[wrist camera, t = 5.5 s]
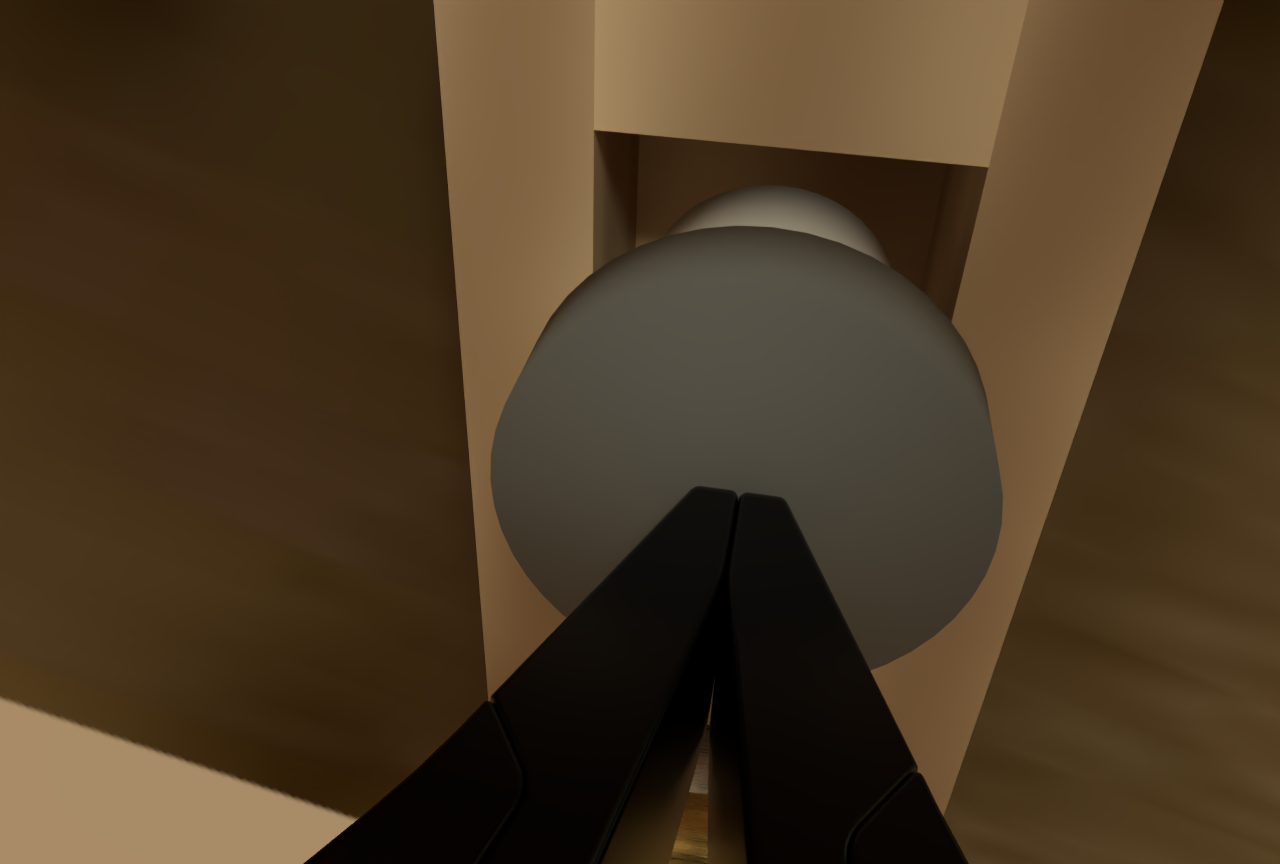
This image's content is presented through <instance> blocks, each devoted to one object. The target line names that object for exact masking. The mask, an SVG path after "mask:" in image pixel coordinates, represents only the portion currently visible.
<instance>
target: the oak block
mask: <svg viewBox="0 0 1280 864" xmlns="http://www.w3.org/2000/svg"><path fill="white" fill-rule="evenodd" d="M1223 2H1224V0H434V11H435V24H436V37H437V50H438V63H439V75H440V88H441V101H442V114H443V127H444V139H445V152H446V165H447V178H448V190H449V203H450V216H451V229H452V242H453V254H454V267H455V280H456V293H457V306H458V318H459V331H460V344H461V357H462V369H463V382H464V395H465V408H466V421H467V433H468V446H469V459H470V472H471V485H472V497H473V510H474V523H475V536H476V548H477V561H478V574H479V587H480V600H481V612H482V625H483V638H484V651H485V664H486V676H487V689H488V701H491V695H492V694H493V693H494V692H495V691H496V690H497V689H498V688H499V687H500V686H501V685H502V684H503V683H504V682H505V681H506V680H507V679H508V678H509V677H510V676H511V675H512V674H513V672H514V671H515V670H516V669H517V668H518V667H519V666H520V665H521V664H522V663H523V662H524V661H525V660H526V659H527V658H528V657H529V656H530V655H531V654H532V653H533V652H534V651H535V650H536V649H537V648H538V647H539V646H540V645H541V644H542V643H543V642H544V640H545V639H546V638H547V637H548V636H549V635H550V634H551V633H552V632H553V631H554V630H555V629H556V628H557V627H558V626H559V625H560V624H561V623H562V622H563V621H564V620H565V619H566V617H565V616H563V615H562V614H561V613H560V612H559V611H558V610H557V609H556V608H555V607H554V606H553V605H552V604H551V603H550V602H549V601H548V600H547V599H546V598H545V597H544V596H543V595H542V594H541V593H540V592H539V590H538V589H537V588H536V587H535V585H534V584H533V583H532V582H531V581H530V579H529V578H528V577H527V576H526V574H525V573H524V571H523V569H522V568H521V566H520V565H519V563H518V562H517V560H516V558H515V557H514V555H513V554H512V552H511V550H510V547H509V545H508V543H507V541H506V539H505V537H504V534H503V532H502V530H501V527H500V524H499V520H498V517H497V514H496V510H495V507H494V502H493V495H492V488H491V481H490V474H491V451H492V446H493V440H494V435H495V430H496V427H497V424H498V421H499V419H500V416H501V413H502V410H503V408H504V405H505V403H506V401H507V399H508V397H509V395H510V393H511V391H512V389H513V387H514V385H515V383H516V381H517V379H518V377H519V375H520V373H521V371H522V369H523V367H524V366H525V364H526V362H527V360H528V358H529V356H530V354H531V352H532V350H533V348H534V346H535V344H536V342H537V340H538V338H539V336H540V335H541V333H542V331H543V329H544V328H545V326H546V324H547V322H548V320H549V319H550V317H551V316H552V314H553V313H554V312H555V311H556V309H557V308H558V307H559V306H560V304H561V303H562V302H563V301H564V299H565V298H566V297H567V296H568V295H569V294H570V293H571V292H572V291H573V290H574V289H575V288H576V287H577V286H578V285H579V284H580V283H582V282H583V281H584V280H585V279H586V278H587V277H588V276H589V275H591V274H592V273H594V272H595V271H597V270H598V269H599V268H601V267H602V266H604V265H605V264H607V263H608V262H610V261H611V260H612V259H614V258H616V257H618V256H620V255H622V254H624V253H626V252H628V251H630V250H632V249H634V248H636V247H638V246H640V245H643V244H646V243H649V242H652V241H655V240H658V239H661V238H663V237H664V235H665V234H666V233H667V231H668V230H669V229H670V228H671V227H672V225H673V224H674V223H675V222H676V221H677V220H679V219H680V218H681V217H682V216H683V215H684V214H685V213H686V212H688V211H689V210H691V209H692V208H694V207H695V206H697V205H698V204H700V203H702V202H704V201H705V200H707V199H709V198H711V197H713V196H716V195H719V194H721V193H724V192H727V191H730V190H734V189H739V188H743V187H749V186H760V185H777V186H788V187H794V188H800V189H804V190H807V191H810V192H814V193H817V194H820V195H822V196H824V197H826V198H829V199H831V200H833V201H835V202H837V203H838V204H840V205H842V206H843V207H845V208H847V209H848V210H849V211H851V212H852V213H853V214H854V215H856V216H857V217H858V218H859V219H861V220H862V221H863V222H864V223H865V224H866V225H867V226H868V228H869V229H870V230H871V231H872V232H873V233H874V234H875V236H876V237H877V239H878V240H879V241H880V243H881V244H882V246H883V247H884V249H885V251H886V253H887V255H888V257H889V259H890V262H891V265H892V268H893V270H895V271H897V272H898V273H900V274H901V275H903V276H904V277H905V278H907V279H908V280H909V281H910V282H912V283H913V284H914V285H915V286H917V287H918V288H919V289H920V290H922V291H923V292H924V293H925V294H926V295H927V296H928V297H929V298H930V299H931V300H932V301H933V302H934V303H935V304H936V305H937V306H938V307H939V308H940V309H941V310H942V311H943V312H944V314H945V315H946V316H947V317H948V318H949V319H950V321H951V322H952V324H953V325H954V327H955V328H956V329H957V331H958V332H959V334H960V335H961V337H962V338H963V339H964V341H965V343H966V345H967V347H968V349H969V351H970V353H971V355H972V357H973V359H974V361H975V363H976V365H977V367H978V370H979V373H980V376H981V379H982V382H983V386H984V389H985V392H986V396H987V402H988V408H989V414H990V419H991V425H992V431H993V436H994V442H995V448H996V453H997V459H998V465H999V471H1000V478H1001V486H1002V493H1003V509H1002V526H1001V530H1000V535H999V539H998V544H997V548H996V552H995V554H994V557H993V559H992V562H991V564H990V566H989V569H988V571H987V574H986V576H985V577H984V579H983V581H982V582H981V584H980V586H979V587H978V589H977V590H976V592H975V594H974V595H973V597H972V598H971V600H970V601H969V602H968V603H967V604H966V605H965V607H964V608H963V609H962V610H961V611H960V612H959V614H958V615H957V616H956V617H955V618H954V619H953V620H952V621H951V622H950V623H949V624H948V625H946V626H945V627H944V628H943V629H942V630H941V631H940V632H939V633H937V634H936V635H935V636H934V637H932V638H931V639H929V640H928V641H927V642H925V643H924V644H922V645H921V646H919V647H918V648H916V649H915V650H913V651H912V652H910V653H908V654H906V655H904V656H902V657H900V658H898V659H896V660H894V661H892V662H890V663H888V664H887V665H884V666H881V667H879V668H876V669H873V670H871V673H872V675H873V677H874V679H875V681H876V683H877V685H878V687H879V689H880V691H881V693H882V695H883V697H884V699H885V701H886V703H887V705H888V707H889V709H890V711H891V713H892V715H893V717H894V719H895V721H896V723H897V725H898V727H899V729H900V731H901V733H902V735H903V737H904V739H905V741H906V743H907V745H908V747H909V749H910V751H911V753H912V755H913V757H914V759H915V761H916V763H917V766H918V771H917V772H919V773H921V774H922V775H923V777H924V779H925V781H926V783H927V785H928V787H929V789H930V791H931V793H932V795H933V797H934V799H935V801H936V803H937V805H938V807H939V809H940V811H941V813H942V815H943V816H944V813H945V811H946V808H947V805H948V802H949V799H950V796H951V793H952V790H953V787H954V784H955V782H956V779H957V776H958V773H959V770H960V767H961V764H962V761H963V758H964V755H965V752H966V750H967V747H968V744H969V741H970V738H971V735H972V732H973V729H974V726H975V723H976V720H977V718H978V715H979V712H980V709H981V706H982V703H983V700H984V697H985V694H986V691H987V688H988V686H989V683H990V680H991V677H992V674H993V671H994V668H995V665H996V662H997V659H998V656H999V654H1000V651H1001V648H1002V645H1003V642H1004V639H1005V636H1006V633H1007V630H1008V627H1009V624H1010V622H1011V619H1012V616H1013V613H1014V610H1015V607H1016V604H1017V601H1018V598H1019V595H1020V593H1021V590H1022V587H1023V584H1024V581H1025V578H1026V575H1027V572H1028V569H1029V566H1030V563H1031V561H1032V558H1033V555H1034V552H1035V549H1036V546H1037V543H1038V540H1039V537H1040V534H1041V531H1042V529H1043V526H1044V523H1045V520H1046V517H1047V514H1048V511H1049V508H1050V505H1051V502H1052V499H1053V497H1054V494H1055V491H1056V488H1057V485H1058V482H1059V479H1060V476H1061V473H1062V470H1063V467H1064V465H1065V462H1066V459H1067V456H1068V453H1069V450H1070V447H1071V444H1072V441H1073V438H1074V435H1075V433H1076V430H1077V427H1078V424H1079V421H1080V418H1081V415H1082V412H1083V409H1084V406H1085V404H1086V401H1087V398H1088V395H1089V392H1090V389H1091V386H1092V383H1093V380H1094V377H1095V374H1096V372H1097V369H1098V366H1099V363H1100V360H1101V357H1102V354H1103V351H1104V348H1105V345H1106V342H1107V340H1108V337H1109V334H1110V331H1111V328H1112V325H1113V322H1114V319H1115V316H1116V313H1117V310H1118V308H1119V305H1120V302H1121V299H1122V296H1123V293H1124V290H1125V287H1126V284H1127V281H1128V278H1129V276H1130V273H1131V270H1132V267H1133V264H1134V261H1135V258H1136V255H1137V252H1138V249H1139V247H1140V244H1141V241H1142V238H1143V235H1144V232H1145V229H1146V226H1147V223H1148V220H1149V217H1150V215H1151V212H1152V209H1153V206H1154V203H1155V200H1156V197H1157V194H1158V191H1159V188H1160V185H1161V183H1162V180H1163V177H1164V174H1165V171H1166V168H1167V165H1168V162H1169V159H1170V156H1171V153H1172V151H1173V148H1174V145H1175V142H1176V139H1177V136H1178V133H1179V130H1180V127H1181V124H1182V121H1183V119H1184V116H1185V113H1186V110H1187V107H1188V104H1189V101H1190V98H1191V95H1192V92H1193V89H1194V87H1195V84H1196V81H1197V78H1198V75H1199V72H1200V69H1201V66H1202V63H1203V60H1204V58H1205V55H1206V52H1207V49H1208V46H1209V43H1210V40H1211V37H1212V34H1213V31H1214V28H1215V26H1216V23H1217V20H1218V17H1219V14H1220V11H1221V8H1222V5H1223ZM713 689H714V687H713ZM712 698H713V694H712ZM711 707H712V701H711V706H710V712H709V718H708V723H707V725H710V716H711Z"/></svg>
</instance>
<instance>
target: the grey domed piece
mask: <svg viewBox="0 0 1280 864" xmlns="http://www.w3.org/2000/svg"><path fill="white" fill-rule="evenodd" d="M490 481H491V488H492V495H493V502H494V507H495V510H496V514H497V517H498V520H499V524H500V527H501V530H502V532H503V534H504V537H505V539H506V541H507V543H508V545H509V547H510V550H511V552H512V554H513V555H514V557H515V558H516V560H517V562H518V563H519V565H520V566H521V568H522V569H523V571H524V573H525V574H526V576H527V577H528V578H529V579H530V581H531V582H532V583H533V584H534V585H535V587H536V588H537V589H538V590H539V592H540V593H541V594H542V595H543V596H544V597H545V598H546V599H547V600H548V601H549V602H550V603H551V604H552V605H553V606H554V607H555V608H556V609H557V610H558V611H559V612H560V613H561V614H562V615H563V616H565V617H566V618H567V617H568V616H569V615H570V614H571V613H572V612H573V611H574V610H575V608H576V607H577V606H578V605H579V604H580V603H581V602H582V601H583V600H584V599H585V598H586V597H587V596H588V595H589V594H590V593H591V592H592V591H593V590H594V589H595V588H596V587H597V586H598V585H599V584H600V583H601V582H602V581H603V580H604V579H605V578H606V576H607V575H608V574H609V573H610V572H611V571H612V570H613V569H614V568H615V567H616V566H617V565H618V564H619V563H620V562H621V561H622V560H623V559H624V558H625V557H626V556H627V555H628V554H629V553H630V552H631V551H632V550H633V549H634V548H635V547H636V546H637V544H638V543H639V542H640V541H641V540H642V539H643V538H644V537H645V536H646V535H647V534H648V533H649V532H650V531H651V530H652V529H653V528H654V527H655V526H656V525H657V524H658V523H659V522H660V521H661V520H662V519H663V518H664V517H665V516H666V515H667V514H668V512H669V511H670V510H671V509H672V508H673V507H674V506H675V505H676V504H677V503H678V502H679V501H680V500H681V499H682V498H683V497H684V496H685V495H686V494H687V493H688V492H689V491H690V490H691V489H692V488H694V487H696V486H706V487H713V488H721V489H728V490H733V491H735V492H736V493H737V495H738V501H739V497H740V496H741V495H742V494H743V493H745V492H750V493H757V494H764V495H772V496H779V497H782V498H783V499H785V500H786V502H787V503H788V505H789V507H790V509H791V511H792V513H793V515H794V517H795V519H796V521H797V523H798V525H799V527H800V529H801V531H802V533H803V535H804V537H805V539H806V541H807V543H808V545H809V547H810V549H811V551H812V553H813V555H814V557H815V559H816V561H817V563H818V566H819V568H820V570H821V572H822V574H823V576H824V578H825V580H826V582H827V584H828V586H829V588H830V590H831V592H832V594H833V596H834V598H835V600H836V602H837V604H838V606H839V608H840V610H841V612H842V614H843V616H844V618H845V620H846V622H847V624H848V626H849V628H850V630H851V632H852V634H853V636H854V638H855V640H856V642H857V644H858V646H859V648H860V650H861V652H862V654H863V656H864V658H865V660H866V662H867V664H868V666H869V669H870V671H871V670H873V669H876V668H879V667H881V666H884V665H887V664H888V663H890V662H892V661H894V660H896V659H898V658H900V657H902V656H904V655H906V654H908V653H910V652H912V651H913V650H915V649H916V648H918V647H919V646H921V645H922V644H924V643H925V642H927V641H928V640H929V639H931V638H932V637H934V636H935V635H936V634H937V633H939V632H940V631H941V630H942V629H943V628H944V627H945V626H946V625H948V624H949V623H950V622H951V621H952V620H953V619H954V618H955V617H956V616H957V615H958V614H959V612H960V611H961V610H962V609H963V608H964V607H965V605H966V604H967V603H968V602H969V601H970V600H971V598H972V597H973V595H974V594H975V592H976V590H977V589H978V587H979V586H980V584H981V582H982V581H983V579H984V577H985V576H986V574H987V571H988V569H989V566H990V564H991V562H992V559H993V557H994V554H995V552H996V548H997V544H998V539H999V535H1000V530H1001V526H1002V509H1003V493H1002V486H1001V478H1000V471H999V465H998V459H997V453H996V448H995V442H994V436H993V431H992V425H991V419H990V414H989V408H988V402H987V396H986V392H985V389H984V386H983V382H982V379H981V376H980V373H979V370H978V367H977V365H976V363H975V361H974V359H973V357H972V355H971V353H970V351H969V349H968V347H967V345H966V343H965V341H964V339H963V338H962V337H961V335H960V334H959V332H958V331H957V329H956V328H955V327H954V325H953V324H952V322H951V321H950V319H949V318H948V317H947V316H946V315H945V314H944V312H943V311H942V310H941V309H940V308H939V307H938V306H937V305H936V304H935V303H934V302H933V301H932V300H931V299H930V298H929V297H928V296H927V295H926V294H925V293H924V292H923V291H922V290H920V289H919V288H918V287H917V286H915V285H914V284H913V283H912V282H910V281H909V280H908V279H907V278H905V277H904V276H903V275H901V274H900V273H898V272H897V271H895V270H893V268H892V265H891V262H890V259H889V257H888V255H887V253H886V251H885V249H884V247H883V246H882V244H881V243H880V241H879V240H878V239H877V237H876V236H875V234H874V233H873V232H872V231H871V230H870V229H869V228H868V226H867V225H866V224H865V223H864V222H863V221H862V220H861V219H859V218H858V217H857V216H856V215H854V214H853V213H852V212H851V211H849V210H848V209H847V208H845V207H843V206H842V205H840V204H838V203H837V202H835V201H833V200H831V199H829V198H826V197H824V196H822V195H820V194H817V193H814V192H810V191H807V190H804V189H800V188H794V187H788V186H777V185H760V186H749V187H743V188H739V189H734V190H730V191H727V192H724V193H721V194H719V195H716V196H713V197H711V198H709V199H707V200H705V201H704V202H702V203H700V204H698V205H697V206H695V207H694V208H692V209H691V210H689V211H688V212H686V213H685V214H684V215H683V216H682V217H681V218H680V219H679V220H677V221H676V222H675V223H674V224H673V225H672V227H671V228H670V229H669V230H668V231H667V233H666V234H665V235H664V237H663V238H661V239H658V240H655V241H652V242H649V243H646V244H643V245H640V246H638V247H636V248H634V249H632V250H630V251H628V252H626V253H624V254H622V255H620V256H618V257H616V258H614V259H612V260H611V261H610V262H608V263H607V264H605V265H604V266H602V267H601V268H599V269H598V270H597V271H595V272H594V273H592V274H591V275H589V276H588V277H587V278H586V279H585V280H584V281H583V282H582V283H580V284H579V285H578V286H577V287H576V288H575V289H574V290H573V291H572V292H571V293H570V294H569V295H568V296H567V297H566V298H565V299H564V301H563V302H562V303H561V304H560V306H559V307H558V308H557V309H556V311H555V312H554V313H553V314H552V316H551V317H550V319H549V320H548V322H547V324H546V326H545V328H544V329H543V331H542V333H541V335H540V336H539V338H538V340H537V342H536V344H535V346H534V348H533V350H532V352H531V354H530V356H529V358H528V360H527V362H526V364H525V366H524V367H523V369H522V371H521V373H520V375H519V377H518V379H517V381H516V383H515V385H514V387H513V389H512V391H511V393H510V395H509V397H508V399H507V401H506V403H505V405H504V408H503V410H502V413H501V416H500V419H499V421H498V424H497V427H496V430H495V435H494V440H493V446H492V451H491V474H490Z"/></svg>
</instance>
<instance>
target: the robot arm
mask: <svg viewBox="0 0 1280 864" xmlns="http://www.w3.org/2000/svg"><path fill="white" fill-rule="evenodd" d="M713 687H714V689H713ZM712 694H713V698H712ZM711 701H712V707H711V716H710V726H709V752H708V845H707V864H969V863H968V861H967V860H966V858H965V856H964V854H963V852H962V850H961V848H960V847H959V845H958V843H957V841H956V839H955V837H954V835H953V834H952V832H951V830H950V828H949V826H948V824H947V822H946V820H945V819H944V817H943V815H942V813H941V811H940V809H939V807H938V805H937V803H936V801H935V799H934V797H933V795H932V793H931V791H930V789H929V787H928V785H927V783H926V781H925V779H924V777H923V775H922V774H921V773H919V772H917V771H918V766H917V763H916V761H915V759H914V757H913V755H912V753H911V751H910V749H909V747H908V745H907V743H906V741H905V739H904V737H903V735H902V733H901V731H900V729H899V727H898V725H897V723H896V721H895V719H894V717H893V715H892V713H891V711H890V709H889V707H888V705H887V703H886V701H885V699H884V697H883V695H882V693H881V691H880V689H879V687H878V685H877V683H876V681H875V679H874V677H873V675H872V673H871V671H870V669H869V666H868V664H867V662H866V660H865V658H864V656H863V654H862V652H861V650H860V648H859V646H858V644H857V642H856V640H855V638H854V636H853V634H852V632H851V630H850V628H849V626H848V624H847V622H846V620H845V618H844V616H843V614H842V612H841V610H840V608H839V606H838V604H837V602H836V600H835V598H834V596H833V594H832V592H831V590H830V588H829V586H828V584H827V582H826V580H825V578H824V576H823V574H822V572H821V570H820V568H819V566H818V563H817V561H816V559H815V557H814V555H813V553H812V551H811V549H810V547H809V545H808V543H807V541H806V539H805V537H804V535H803V533H802V531H801V529H800V527H799V525H798V523H797V521H796V519H795V517H794V515H793V513H792V511H791V509H790V507H789V505H788V503H787V502H786V500H785V499H783V498H782V497H779V496H772V495H764V494H757V493H750V492H745V493H743V494H742V495H741V496H740V497H739V501H738V495H737V493H736V492H735V491H733V490H728V489H721V488H713V487H706V486H696V487H694V488H692V489H691V490H690V491H689V492H688V493H687V494H686V495H685V496H684V497H683V498H682V499H681V500H680V501H679V502H678V503H677V504H676V505H675V506H674V507H673V508H672V509H671V510H670V511H669V512H668V514H667V515H666V516H665V517H664V518H663V519H662V520H661V521H660V522H659V523H658V524H657V525H656V526H655V527H654V528H653V529H652V530H651V531H650V532H649V533H648V534H647V535H646V536H645V537H644V538H643V539H642V540H641V541H640V542H639V543H638V544H637V546H636V547H635V548H634V549H633V550H632V551H631V552H630V553H629V554H628V555H627V556H626V557H625V558H624V559H623V560H622V561H621V562H620V563H619V564H618V565H617V566H616V567H615V568H614V569H613V570H612V571H611V572H610V573H609V574H608V575H607V576H606V578H605V579H604V580H603V581H602V582H601V583H600V584H599V585H598V586H597V587H596V588H595V589H594V590H593V591H592V592H591V593H590V594H589V595H588V596H587V597H586V598H585V599H584V600H583V601H582V602H581V603H580V604H579V605H578V606H577V607H576V608H575V610H574V611H573V612H572V613H571V614H570V615H569V616H568V617H567V618H566V619H565V620H564V621H563V622H562V623H561V624H560V625H559V626H558V627H557V628H556V629H555V630H554V631H553V632H552V633H551V634H550V635H549V636H548V637H547V638H546V639H545V640H544V642H543V643H542V644H541V645H540V646H539V647H538V648H537V649H536V650H535V651H534V652H533V653H532V654H531V655H530V656H529V657H528V658H527V659H526V660H525V661H524V662H523V663H522V664H521V665H520V666H519V667H518V668H517V669H516V670H515V671H514V672H513V674H512V675H511V676H510V677H509V678H508V679H507V680H506V681H505V682H504V683H503V684H502V685H501V686H500V687H499V688H498V689H497V690H496V691H495V692H494V693H493V694H492V695H491V701H485V702H484V703H483V704H482V705H481V706H480V707H479V708H478V709H477V710H476V711H475V712H474V713H473V714H472V715H471V716H470V717H469V718H468V719H467V721H466V722H465V723H464V724H463V725H462V726H461V727H460V728H459V729H458V730H457V731H456V732H455V733H454V734H453V735H452V736H451V737H450V738H449V739H448V740H447V741H446V742H444V743H443V744H442V745H441V746H440V747H439V748H438V749H437V750H436V751H435V752H434V753H433V754H432V755H431V756H430V757H429V758H428V759H427V760H426V761H425V762H424V763H423V764H422V765H421V766H420V767H419V768H418V769H417V770H415V771H414V772H413V773H412V774H411V775H410V776H408V777H407V778H406V779H405V780H404V781H403V782H401V783H400V784H399V785H398V786H397V787H396V788H394V789H393V790H392V791H391V792H390V793H389V794H387V795H386V796H385V797H384V798H383V799H381V800H380V801H379V802H378V803H377V804H376V805H374V806H373V807H372V808H371V809H370V810H369V811H367V812H366V813H365V814H364V815H363V816H361V817H360V818H359V819H358V820H357V821H355V822H354V823H353V824H352V825H350V826H349V827H348V828H347V829H346V830H344V831H343V832H342V833H341V834H339V835H338V836H337V837H336V838H334V839H333V840H332V841H331V842H329V844H327V845H326V846H325V847H323V848H322V849H321V850H320V851H318V852H317V853H316V854H315V855H314V856H312V857H311V858H310V859H309V860H307V861H306V862H305V863H304V864H669V862H670V858H671V855H672V851H673V847H674V844H675V840H676V837H677V833H678V830H679V826H680V823H681V819H682V815H683V812H684V808H685V805H686V801H687V798H688V794H689V790H690V787H691V783H692V780H693V776H694V773H695V769H696V766H697V762H698V758H699V755H700V751H701V748H702V744H703V740H704V736H705V732H706V728H707V723H708V718H709V712H710V706H711Z"/></svg>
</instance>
